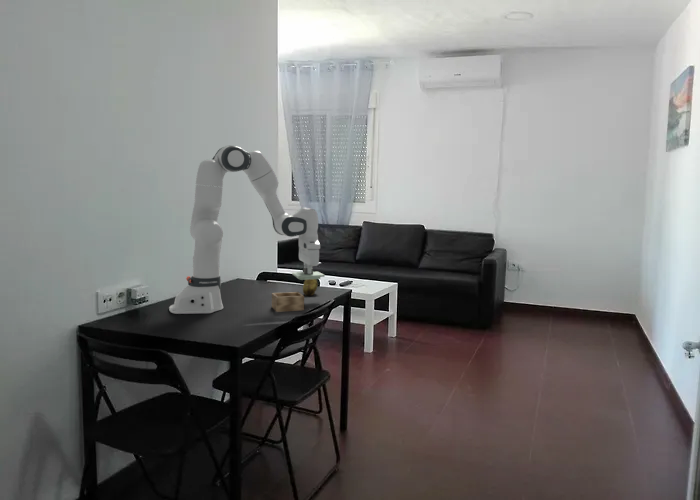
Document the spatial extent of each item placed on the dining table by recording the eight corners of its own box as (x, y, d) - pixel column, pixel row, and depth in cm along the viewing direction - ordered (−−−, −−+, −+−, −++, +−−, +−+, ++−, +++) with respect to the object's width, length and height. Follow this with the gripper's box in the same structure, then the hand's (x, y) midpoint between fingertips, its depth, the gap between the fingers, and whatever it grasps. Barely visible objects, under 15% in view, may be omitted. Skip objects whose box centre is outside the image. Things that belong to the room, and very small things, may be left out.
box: (276, 313, 247) (276, 297, 246) (271, 308, 255) (271, 293, 254) (303, 311, 251) (304, 295, 250) (298, 307, 260) (298, 291, 259)
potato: (296, 296, 283) (297, 279, 282) (306, 291, 295) (306, 275, 294) (313, 297, 280) (313, 281, 279) (322, 292, 293) (322, 277, 292)
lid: (297, 280, 263) (297, 270, 262) (292, 276, 272) (292, 267, 271) (324, 279, 267) (324, 269, 267) (318, 275, 276) (318, 266, 276)
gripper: (295, 240, 276) (295, 269, 278) (308, 246, 257) (307, 276, 259) (308, 240, 278) (308, 268, 280) (321, 245, 259) (321, 276, 261)
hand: (308, 272), depth 269 cm, fingers closed on lid, 2 cm apart
